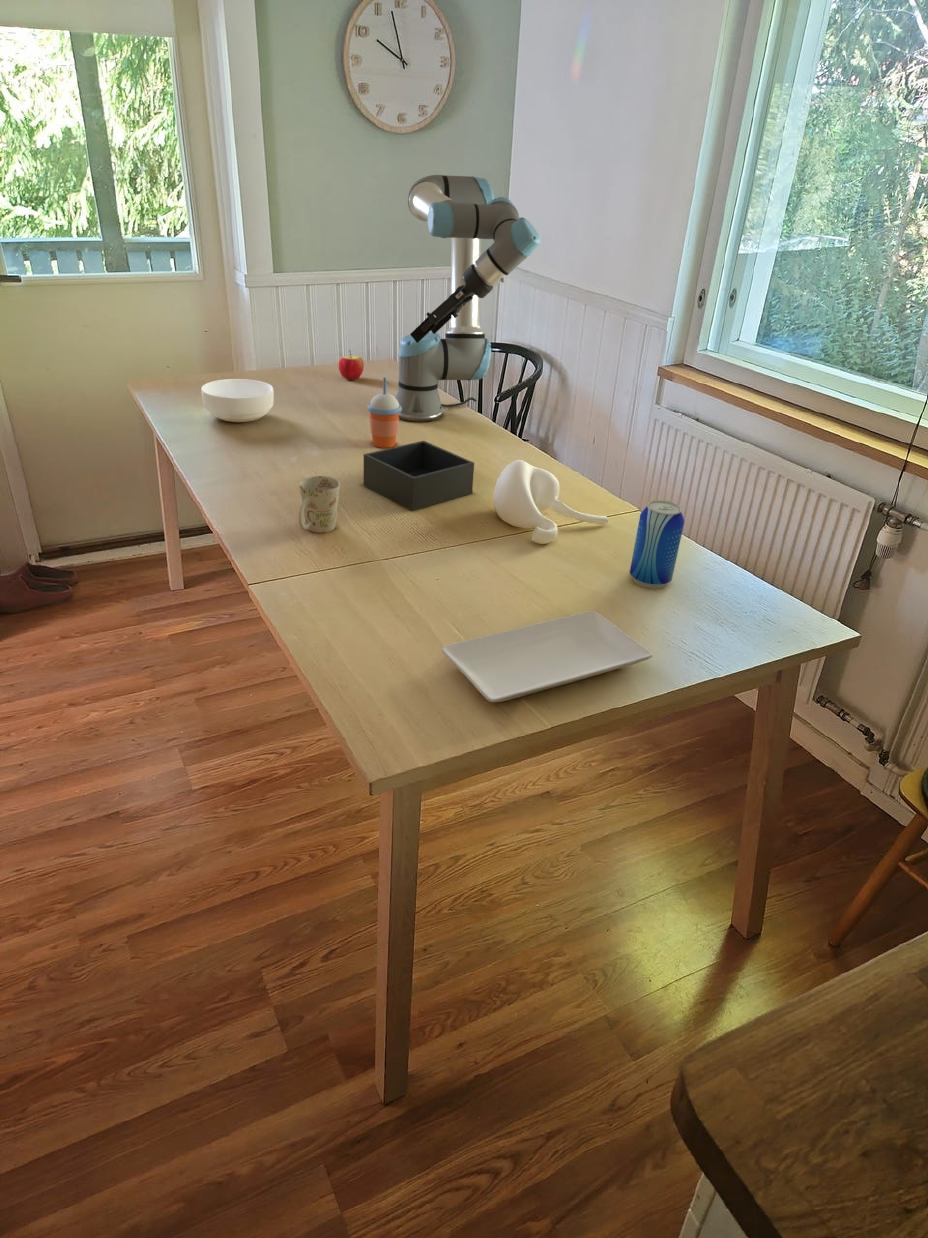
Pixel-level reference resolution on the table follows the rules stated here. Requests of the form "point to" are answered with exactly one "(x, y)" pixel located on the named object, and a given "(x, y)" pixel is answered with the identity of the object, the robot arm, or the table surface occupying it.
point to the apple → (351, 367)
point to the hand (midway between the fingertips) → (422, 334)
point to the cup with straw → (384, 418)
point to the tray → (544, 655)
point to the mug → (319, 503)
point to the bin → (418, 474)
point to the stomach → (533, 501)
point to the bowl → (238, 399)
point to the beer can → (657, 544)
